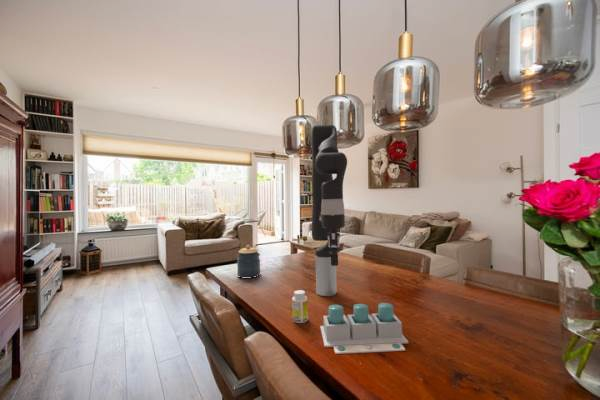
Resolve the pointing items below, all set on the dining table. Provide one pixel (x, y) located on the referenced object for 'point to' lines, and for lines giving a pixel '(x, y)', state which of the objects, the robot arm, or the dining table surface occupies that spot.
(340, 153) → the robot arm
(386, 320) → the button
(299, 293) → the supplement bottle
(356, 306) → the button
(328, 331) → the board
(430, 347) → the dining table surface
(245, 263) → the canister
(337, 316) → the button
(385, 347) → the card
